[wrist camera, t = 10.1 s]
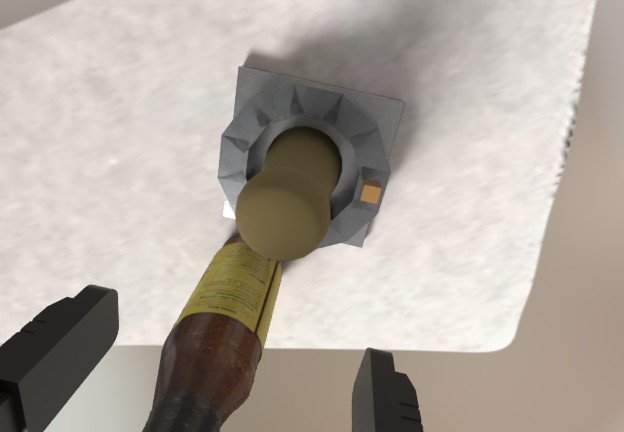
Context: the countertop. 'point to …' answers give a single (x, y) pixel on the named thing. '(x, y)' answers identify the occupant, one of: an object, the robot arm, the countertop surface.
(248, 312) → the sauce bottle
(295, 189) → the cork
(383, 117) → the hub
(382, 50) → the countertop surface
